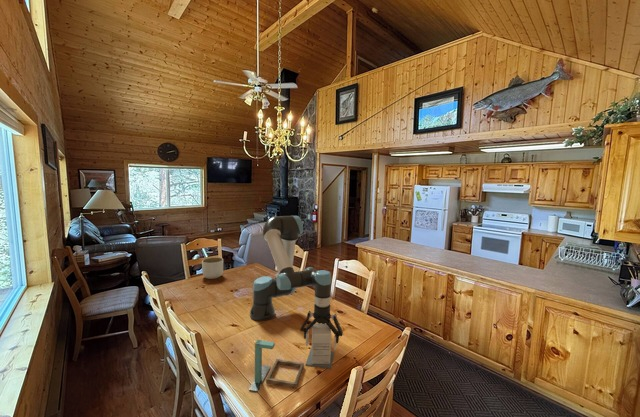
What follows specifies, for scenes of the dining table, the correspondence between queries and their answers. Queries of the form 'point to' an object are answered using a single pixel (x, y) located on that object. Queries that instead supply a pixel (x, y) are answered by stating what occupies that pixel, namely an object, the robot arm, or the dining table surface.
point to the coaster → (327, 366)
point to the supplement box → (321, 344)
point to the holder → (282, 382)
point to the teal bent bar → (260, 357)
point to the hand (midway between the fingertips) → (320, 346)
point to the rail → (256, 386)
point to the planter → (212, 267)
